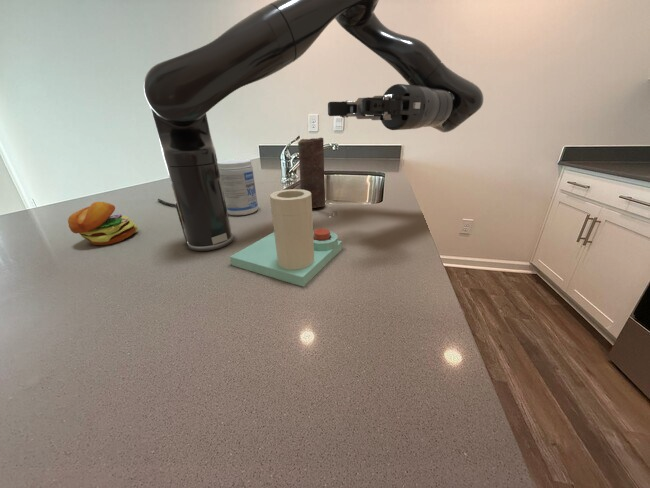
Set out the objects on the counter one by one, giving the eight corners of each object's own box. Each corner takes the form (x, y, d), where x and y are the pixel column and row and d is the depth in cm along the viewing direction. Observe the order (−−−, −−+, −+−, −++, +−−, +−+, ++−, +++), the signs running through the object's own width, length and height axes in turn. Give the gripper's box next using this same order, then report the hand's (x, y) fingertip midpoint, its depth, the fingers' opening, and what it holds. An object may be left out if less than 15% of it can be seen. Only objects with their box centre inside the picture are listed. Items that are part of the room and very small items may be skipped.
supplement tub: (258, 214, 75) (251, 162, 68) (224, 218, 73) (213, 164, 67) (258, 205, 83) (251, 157, 77) (227, 208, 82) (218, 159, 75)
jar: (270, 264, 45) (261, 196, 39) (291, 249, 50) (286, 187, 44) (301, 273, 42) (296, 201, 37) (320, 256, 47) (318, 191, 42)
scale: (231, 265, 48) (228, 248, 47) (280, 236, 60) (278, 222, 59) (303, 287, 42) (302, 268, 40) (342, 249, 53) (342, 233, 52)
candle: (322, 211, 76) (320, 138, 67) (298, 210, 77) (293, 139, 69) (327, 204, 83) (326, 136, 74) (305, 203, 84) (301, 137, 75)
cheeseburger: (146, 235, 62) (119, 199, 56) (96, 261, 56) (61, 223, 51) (134, 225, 68) (109, 191, 62) (88, 247, 63) (56, 212, 57)
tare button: (310, 240, 50) (310, 233, 50) (318, 234, 53) (318, 227, 52) (325, 243, 49) (325, 235, 48) (332, 237, 52) (332, 229, 51)
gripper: (383, 89, 53) (318, 85, 45) (447, 80, 43) (379, 72, 34) (380, 129, 56) (320, 132, 48) (440, 129, 46) (376, 134, 37)
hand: (345, 107), depth 41 cm, fingers open, 8 cm apart
